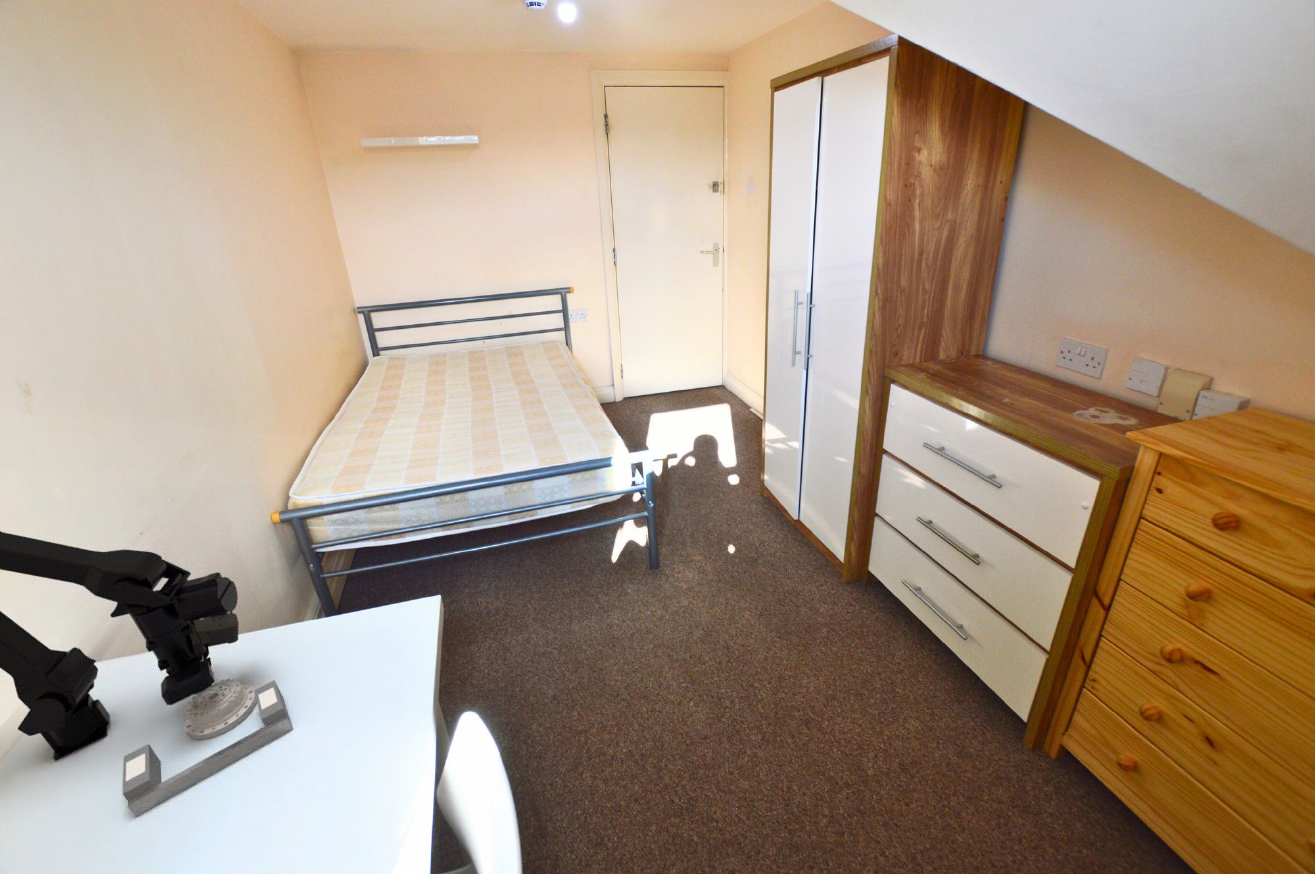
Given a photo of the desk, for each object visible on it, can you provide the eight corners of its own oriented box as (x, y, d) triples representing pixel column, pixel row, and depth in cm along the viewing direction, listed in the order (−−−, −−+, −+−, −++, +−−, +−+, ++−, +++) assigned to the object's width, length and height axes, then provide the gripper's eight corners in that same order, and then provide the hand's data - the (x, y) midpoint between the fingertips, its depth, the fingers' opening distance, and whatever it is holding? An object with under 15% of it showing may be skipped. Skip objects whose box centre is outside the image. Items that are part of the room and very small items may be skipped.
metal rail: (135, 817, 81) (127, 805, 80) (135, 811, 82) (127, 800, 81) (292, 729, 92) (287, 718, 91) (291, 725, 93) (286, 714, 92)
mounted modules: (135, 811, 82) (121, 793, 80) (136, 773, 87) (123, 755, 86) (291, 725, 93) (282, 707, 91) (282, 696, 99) (273, 678, 97)
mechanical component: (173, 742, 92) (232, 738, 92) (160, 723, 90) (221, 719, 90) (216, 692, 101) (270, 688, 101) (205, 674, 99) (261, 670, 99)
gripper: (230, 627, 90) (268, 697, 97) (217, 576, 103) (251, 640, 110) (141, 667, 84) (188, 739, 90) (140, 607, 97) (180, 674, 104)
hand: (205, 693), depth 99 cm, fingers closed
